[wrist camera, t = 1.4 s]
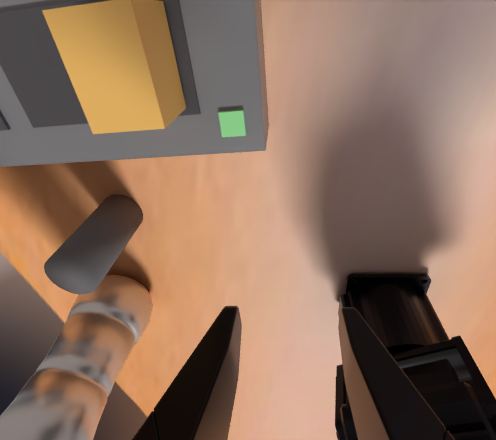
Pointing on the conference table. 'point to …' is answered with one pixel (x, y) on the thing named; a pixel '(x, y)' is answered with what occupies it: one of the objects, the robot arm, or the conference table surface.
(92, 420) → the plastic bottle
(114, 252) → the cylinder
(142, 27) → the toggle amber
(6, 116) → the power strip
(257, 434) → the conference table surface
